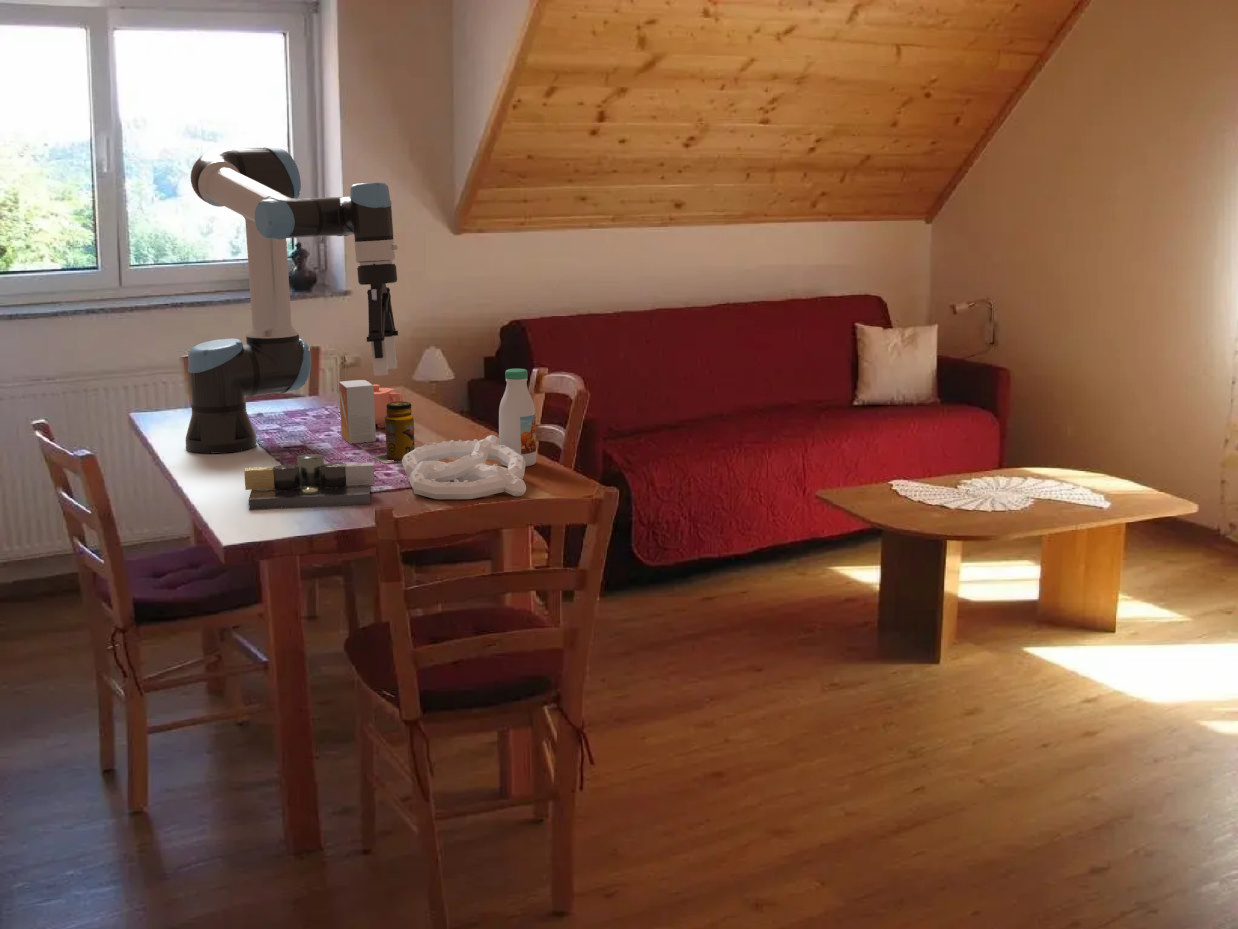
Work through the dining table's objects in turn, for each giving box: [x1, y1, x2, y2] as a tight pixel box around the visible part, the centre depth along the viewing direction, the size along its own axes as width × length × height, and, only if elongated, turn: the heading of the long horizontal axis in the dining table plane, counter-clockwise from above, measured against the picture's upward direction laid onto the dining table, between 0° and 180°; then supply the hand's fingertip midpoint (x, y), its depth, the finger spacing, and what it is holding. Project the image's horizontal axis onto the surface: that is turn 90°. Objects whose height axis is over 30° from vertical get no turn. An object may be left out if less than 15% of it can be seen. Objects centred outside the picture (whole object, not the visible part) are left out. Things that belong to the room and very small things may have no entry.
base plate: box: [248, 453, 371, 511], centre depth 267 cm, size 15×22×7 cm
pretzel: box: [401, 434, 527, 500], centre depth 277 cm, size 28×24×6 cm
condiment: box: [371, 400, 416, 465], centre depth 299 cm, size 7×8×12 cm
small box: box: [338, 379, 377, 445], centre depth 317 cm, size 8×6×13 cm
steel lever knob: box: [320, 462, 375, 488], centre depth 268 cm, size 5×10×4 cm, turn 100°
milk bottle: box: [498, 368, 537, 468], centre depth 293 cm, size 8×8×20 cm
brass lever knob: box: [243, 464, 300, 491], centre depth 266 cm, size 5×10×4 cm, turn 100°
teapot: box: [372, 383, 404, 429], centre depth 334 cm, size 12×12×10 cm
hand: (386, 372), depth 276 cm, fingers open, 13 cm apart
